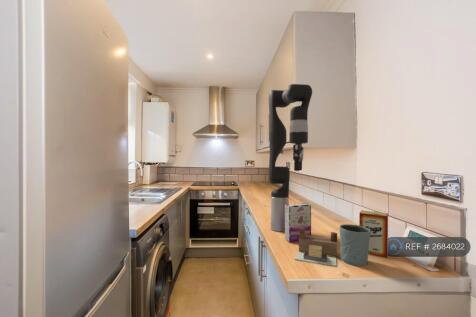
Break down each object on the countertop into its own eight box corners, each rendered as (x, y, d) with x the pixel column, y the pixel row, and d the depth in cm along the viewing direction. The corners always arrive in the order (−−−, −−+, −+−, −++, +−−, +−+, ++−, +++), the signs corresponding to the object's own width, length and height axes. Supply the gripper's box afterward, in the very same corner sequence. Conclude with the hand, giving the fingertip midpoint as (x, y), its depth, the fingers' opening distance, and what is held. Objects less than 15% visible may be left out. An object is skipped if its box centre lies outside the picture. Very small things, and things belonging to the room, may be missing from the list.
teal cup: (343, 253, 92) (343, 222, 92) (372, 260, 86) (373, 227, 86) (335, 261, 84) (335, 228, 84) (367, 270, 78) (367, 233, 78)
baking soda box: (359, 252, 94) (359, 211, 94) (361, 247, 99) (361, 209, 99) (387, 257, 88) (387, 215, 89) (388, 252, 94) (388, 212, 94)
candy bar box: (305, 237, 111) (305, 202, 111) (311, 241, 106) (311, 204, 106) (284, 239, 108) (284, 203, 108) (289, 242, 103) (289, 205, 103)
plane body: (300, 246, 99) (300, 225, 99) (336, 251, 94) (336, 228, 94) (298, 251, 93) (299, 228, 93) (337, 257, 88) (337, 233, 88)
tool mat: (296, 253, 92) (296, 251, 92) (335, 258, 87) (335, 257, 87) (294, 259, 85) (294, 258, 85) (336, 266, 80) (336, 265, 80)
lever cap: (304, 254, 89) (304, 243, 90) (327, 257, 87) (327, 246, 87) (303, 258, 85) (303, 247, 85) (326, 262, 82) (327, 250, 83)
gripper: (291, 134, 106) (291, 169, 106) (286, 130, 93) (286, 170, 93) (309, 133, 104) (308, 170, 103) (306, 129, 90) (306, 171, 90)
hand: (298, 170), depth 98 cm, fingers open, 8 cm apart
